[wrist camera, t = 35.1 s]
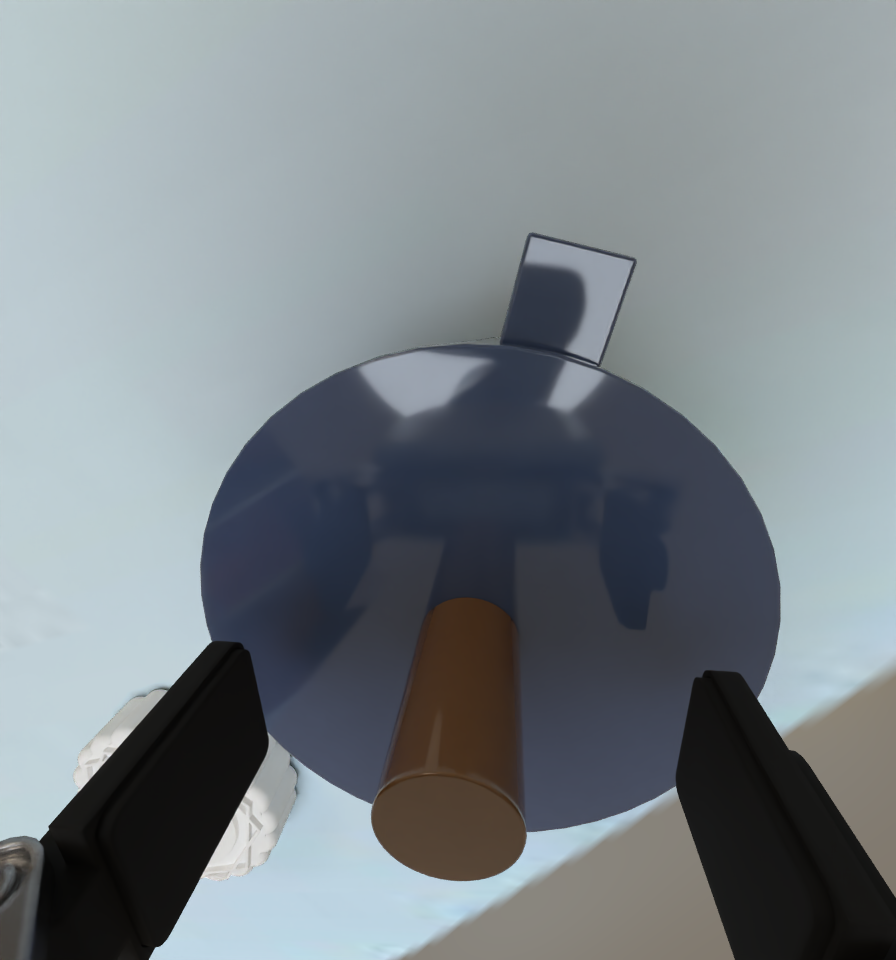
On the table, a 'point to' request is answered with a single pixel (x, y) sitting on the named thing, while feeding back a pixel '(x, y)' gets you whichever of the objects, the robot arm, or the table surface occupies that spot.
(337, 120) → the table surface
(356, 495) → the lid
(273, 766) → the mooncake
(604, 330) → the pot
